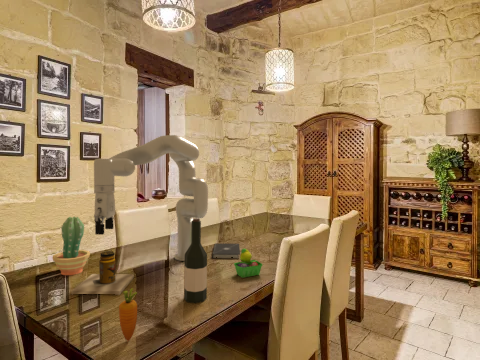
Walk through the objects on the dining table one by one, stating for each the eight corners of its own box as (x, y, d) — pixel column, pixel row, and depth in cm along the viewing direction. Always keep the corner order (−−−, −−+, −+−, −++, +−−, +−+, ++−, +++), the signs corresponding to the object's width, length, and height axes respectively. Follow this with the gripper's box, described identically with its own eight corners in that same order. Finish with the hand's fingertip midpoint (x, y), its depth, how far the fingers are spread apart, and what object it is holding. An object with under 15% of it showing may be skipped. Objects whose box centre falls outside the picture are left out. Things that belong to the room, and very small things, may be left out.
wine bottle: (185, 293, 121) (185, 216, 120) (206, 293, 122) (207, 216, 120) (183, 303, 113) (183, 220, 111) (206, 303, 114) (207, 220, 112)
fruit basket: (240, 279, 138) (241, 253, 137) (232, 272, 146) (232, 248, 145) (263, 275, 143) (263, 250, 142) (253, 269, 151) (253, 246, 150)
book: (214, 248, 189) (214, 243, 188) (238, 248, 189) (239, 243, 189) (212, 259, 167) (212, 253, 167) (240, 259, 167) (240, 254, 167)
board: (133, 277, 138) (133, 274, 137) (119, 294, 120) (119, 290, 119) (92, 277, 137) (92, 273, 137) (71, 294, 119) (71, 290, 119)
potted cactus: (98, 268, 148) (97, 215, 147) (70, 279, 134) (70, 221, 132) (72, 264, 153) (72, 213, 152) (43, 275, 139) (42, 218, 137)
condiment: (118, 282, 127) (118, 253, 127) (95, 287, 123) (95, 256, 122) (114, 277, 133) (114, 249, 133) (92, 281, 129) (92, 252, 128)
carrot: (130, 334, 93) (130, 284, 92) (141, 339, 90) (141, 288, 89) (115, 341, 88) (114, 289, 88) (126, 348, 86) (125, 294, 85)
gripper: (105, 191, 118) (105, 236, 119) (121, 187, 135) (121, 227, 136) (85, 191, 117) (85, 236, 118) (103, 187, 135) (103, 227, 136)
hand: (104, 231), depth 127 cm, fingers open, 9 cm apart
